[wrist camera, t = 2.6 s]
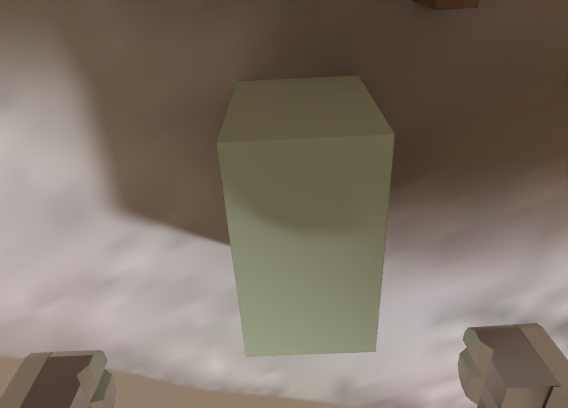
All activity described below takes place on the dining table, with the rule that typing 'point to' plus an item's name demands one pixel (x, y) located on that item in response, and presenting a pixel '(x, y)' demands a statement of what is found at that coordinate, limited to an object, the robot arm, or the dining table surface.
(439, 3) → the brown flat wooden frame
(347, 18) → the dining table surface
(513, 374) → the robot arm
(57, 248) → the dining table surface
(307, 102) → the sage block
